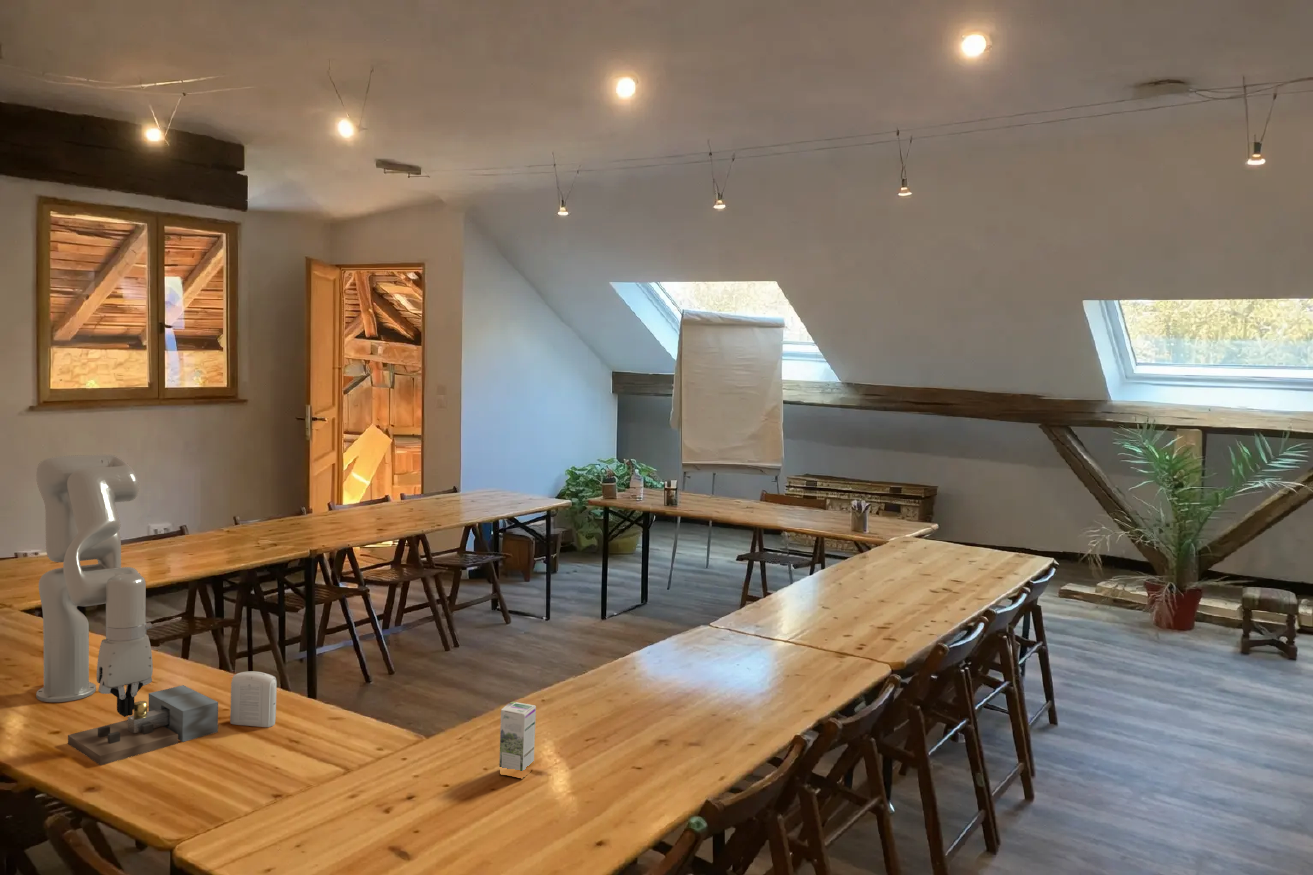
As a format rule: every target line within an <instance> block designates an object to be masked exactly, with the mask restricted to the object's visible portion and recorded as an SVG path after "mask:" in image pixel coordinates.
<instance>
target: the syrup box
mask: <svg viewBox="0 0 1313 875" xmlns="http://www.w3.org/2000/svg"><path fill="white" fill-rule="evenodd" d="M500 710H501V711H500V731H499V732H500V733H499V734H500V737H499V763H498V765H499V767H502V768H507V769H515V770H520V771H523V770H525V769H526V767H527V766H529V765H530V764H531V763H532V762H533V761H534V762H535V742H536V741H535V738H536V736H535V735H536V719H537V718H536V717H537V712H536V711H537V706H536V705H534V704H529V703H523V702H517V701H511V702H509V703H507V704H505V706H503V708H501V709H500ZM499 767H498V768H499Z"/></svg>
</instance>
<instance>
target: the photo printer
mask: <svg viewBox="0 0 1313 875" xmlns="http://www.w3.org/2000/svg"><path fill="white" fill-rule="evenodd" d="M277 683H278V682H277V678H276V676H274V675H272V674H269V673H265V672H262V671H252V670H251V671H241V672H237V673H236V674H234V675H233V677H232V679H231V683H230V716H229V717H230V718H229V720H230V724H232V725H238V726H248V727H249V726H250V727H260V728H261V727H262V728H271V727H273V726H275V724H276V718H277V717H276V716H277V686H278V684H277Z"/></svg>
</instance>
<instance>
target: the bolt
mask: <svg viewBox="0 0 1313 875" xmlns="http://www.w3.org/2000/svg"><path fill="white" fill-rule="evenodd" d="M127 720H128V731H130V732H132V733H134V734H135V733H139V732H142V725H144V724H148V723H152V724H153V729H154V728H158V727H161V726H165V725H169V724H170V709H168V708H166V707H165V708H161V709H157V710H153V711H149V710H148V701H146V700H139V701H134V710H133V715H130V716H129V715H128V716H127Z"/></svg>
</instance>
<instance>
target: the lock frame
mask: <svg viewBox="0 0 1313 875" xmlns="http://www.w3.org/2000/svg"><path fill="white" fill-rule="evenodd" d="M165 707H166V708H168V709H170V724H169V725H165V726H161V727H158V728H154V729H153V724H152V723H148V724H144V725H142V732H139V733H135V734H134V733H132V732H130V731H128V719H125V720H121V721H118V722H114V723H110V724H106V725H102V726H97V727H94V728H91V729H86V730H81V731H78V732H74V733H70V734H67V744H68V745H69V746H70V747H72V748H73V749H75V750H76V751H78V752H80V753H81V754H82V755H84V756H85V757H87V758H89V759H90V760H92V761H93V762H95V763H96V764H97V765H99V766H103V765H106V764H111V763H113V762H114V763H115V762H118V761H121V760H124V759H128V757H129V758H132V757H135V755H136V756H139V755H143V754H145V753H149V752H153V751H156V749H157V750H159V749H163V748H167V747H170V746H174V745H177V744H179V741H180V742H182V743H184V742H187V741H191V740H195V739H199V738H202V737H205V736H209V735H212V734H216V733H218V732H219V701H217V700H215V699H213V698H211V697H209V696H206V695H204V694H202V693H201V692H198V691H197V690H194V689H192V688H191V687H188V686H186V685H183V684H182V685H178V686H174V687H169V688H165V689H160V690H156V691H152V692H148V712H149V711H153V710H157V709H161V708H165ZM198 737H199V738H198ZM138 754H139V755H138ZM131 756H132V757H131ZM117 760H118V761H117Z"/></svg>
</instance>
